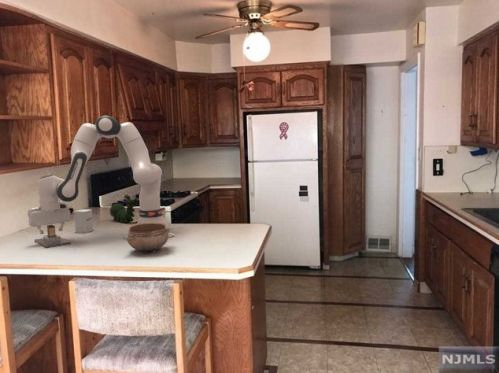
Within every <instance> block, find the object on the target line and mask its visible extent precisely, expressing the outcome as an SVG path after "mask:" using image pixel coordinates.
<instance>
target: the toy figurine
mask: <svg viewBox="0 0 499 373" xmlns="http://www.w3.org/2000/svg"><path fill="white" fill-rule="evenodd" d="M123 198H124V199H125V200H127V202H126V207H125V206H124V205H123V204H122V203H118V202H117V203H114V204H113V205H111V207H110V209H109V214H110V216H111V217H112V218H113V220H114V221H116V222H120V223H121V224H123V223H127V222H128V223H129V222H133V221H134V217H135V216H136V215H135V214H134V212H135V211H136V209H134V207H135V204H134V203H135V201H134V200H133V199H132V198H131V196H130V195H129V194H125V195H124V197H123Z"/></svg>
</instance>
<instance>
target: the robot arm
mask: <svg viewBox="0 0 499 373" xmlns="http://www.w3.org/2000/svg"><path fill="white" fill-rule="evenodd" d="M116 137H117V138H118V140H119V141H120V143H121V145H122V148H123V149H124V151H125V154H126V155H127V157H128V160H129V162H130V163H129V164H130V167H131V170H132V173H133V174H132V177H133V180H134V182H135V183H136V184H138V185H140V192H139V195H138V197H139V198H138V199H139V202H138V203H139V211H138V215H139V219H138V220H137V223H144V222H162V223H165V224H166V226H165V227H166V229H167V228H170V227H171V225H170V222H168V221H167V220H166V219H165V218H164V216H163V210H162V208H161V196H160V195H161V185H162V175H163V171H162V168H161V167H160V166H159V165H157V164H156V163H152V162H151V159H150V155H149V150H148V147H147V146H146V144H145V142H144V139H143V137H142V136H141V134H140V132H139V130H138V128H137V127H136V126H135V125H134V123H133V122H130V121H126V122H122V123H121V122H120V121H118V120H117V119H116V118H114V117H113V116H110V115H107V114H106V115H101V116H100V117H98V118H97V120H96V122H95V124H93V123H89V122H85V123H83V124H82V125H80V127H79V128H78V131H77V132H76V134H75V136H74V138H73V142H72V144H71V147H70V156H71V157H70V158H71V163H70V166H69V170H68V171H67V174H66V177H65V179H64V178H61V177H58V176H56V175H54V174H47V175H44V176H41V177H40V178H39V179H38V182H37V183H38V184H37V190H38V192H37V193H38V195H39V202H38V203H39V207H34V208H30V209H28V210H27V216H28V226H30V228H31V227H33V228H35V227H36V229H37V230H38V231H39V234H40V235H43V234H45V233H44V232H45V231H44V230H43V229H41V227H42V226H45V225H46V226H47V225H54V224H60V226H59V227H58V232H62V231H63V228H64V225H65V223H67V222H71V220H72V214H71V211H70V209H69V205H68V203H69V202H73V201H74V200H76V199H77V198H78V195H79V183H80V178H81V176H82V174H83V170H84V168H85V166H86V164H87V163H88V162H89V159H90V158H91V156H92V154H93V152H94V150H95V148H96V145H97V142H98V141H99V140H100V139H104V140H105V139H106V140H113V139H115V138H116ZM59 199H60V200H61V201H63V202H60V201H59ZM64 202H67V203H64ZM170 229H171V228H170ZM167 231H168V230H167ZM174 235H175V233H173V232H171V231H170V232H169V233H168V239H169V237H170V238H173V237H175V236H174ZM172 236H173V237H172Z"/></svg>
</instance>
